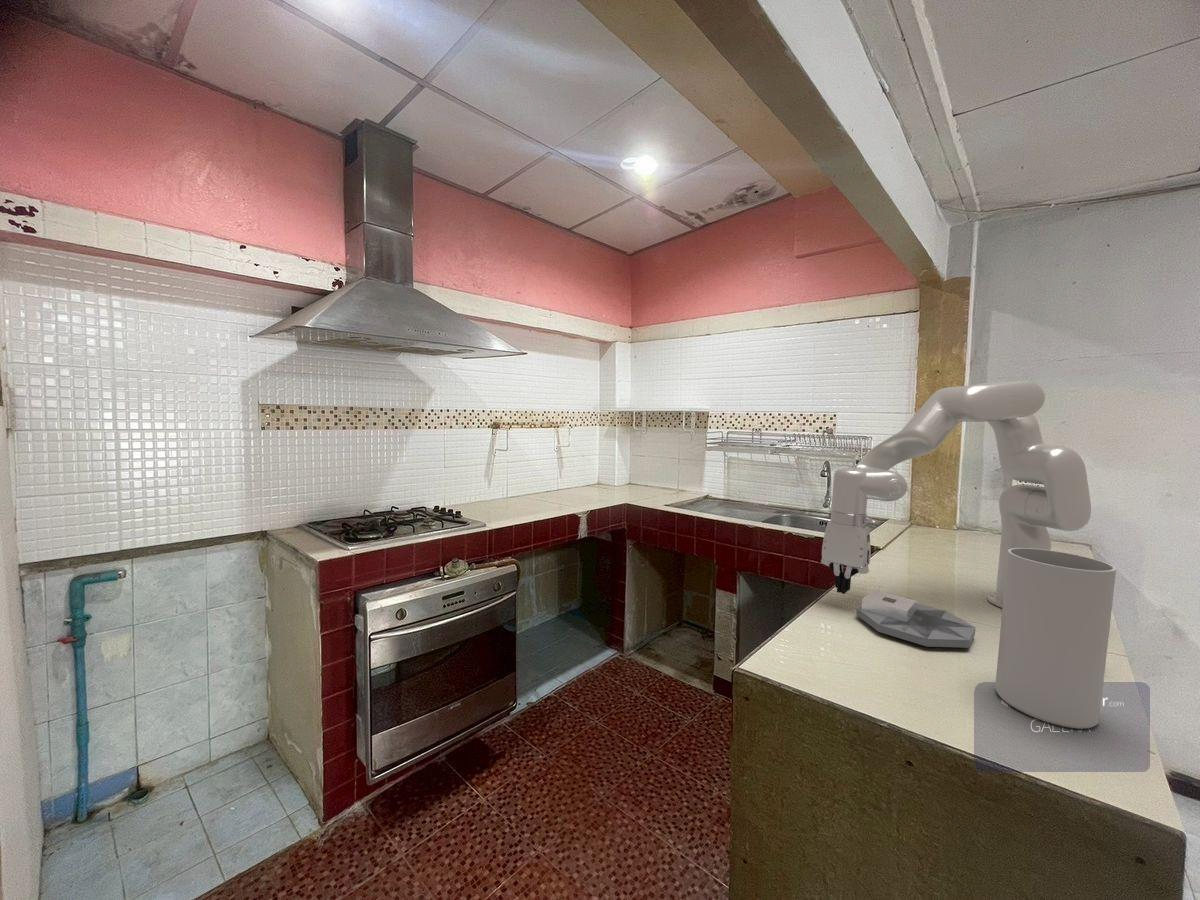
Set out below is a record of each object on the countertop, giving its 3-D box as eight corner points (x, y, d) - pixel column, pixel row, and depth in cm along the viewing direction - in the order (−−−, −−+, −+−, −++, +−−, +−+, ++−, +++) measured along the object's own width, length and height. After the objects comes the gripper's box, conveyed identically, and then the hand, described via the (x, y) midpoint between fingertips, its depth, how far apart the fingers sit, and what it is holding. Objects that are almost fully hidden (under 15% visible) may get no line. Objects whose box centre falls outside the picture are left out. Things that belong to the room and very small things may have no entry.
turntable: (978, 626, 106) (979, 619, 106) (964, 658, 91) (965, 650, 91) (874, 598, 121) (875, 592, 120) (847, 622, 106) (848, 615, 106)
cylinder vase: (977, 681, 84) (989, 546, 83) (1052, 687, 83) (1066, 550, 81) (1033, 727, 72) (1049, 568, 70) (1123, 735, 71) (1142, 574, 69)
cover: (915, 611, 109) (916, 600, 109) (906, 622, 103) (907, 610, 103) (872, 599, 115) (873, 589, 115) (861, 609, 109) (862, 598, 109)
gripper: (886, 522, 112) (880, 597, 113) (821, 512, 123) (816, 580, 124) (877, 527, 107) (871, 605, 108) (810, 515, 117) (805, 586, 119)
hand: (842, 591), depth 116 cm, fingers closed
